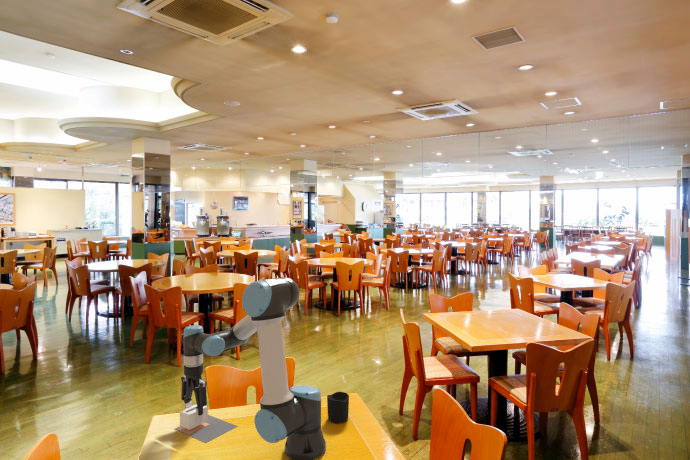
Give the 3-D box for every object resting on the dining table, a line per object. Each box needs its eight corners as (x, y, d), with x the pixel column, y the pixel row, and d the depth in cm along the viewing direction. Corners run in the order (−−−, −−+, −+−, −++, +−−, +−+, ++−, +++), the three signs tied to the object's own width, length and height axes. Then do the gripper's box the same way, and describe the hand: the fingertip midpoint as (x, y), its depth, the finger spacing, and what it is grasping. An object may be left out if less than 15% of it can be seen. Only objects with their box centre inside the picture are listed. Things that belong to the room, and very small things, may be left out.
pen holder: (349, 424, 176) (349, 400, 175) (326, 424, 176) (326, 400, 176) (348, 414, 185) (348, 391, 185) (327, 414, 185) (327, 391, 185)
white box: (189, 429, 167) (189, 414, 167) (180, 425, 170) (179, 410, 170) (207, 420, 174) (207, 406, 174) (198, 417, 178) (198, 402, 178)
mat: (238, 427, 173) (238, 425, 173) (205, 444, 160) (205, 442, 160) (206, 415, 184) (206, 413, 184) (174, 430, 171) (174, 428, 171)
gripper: (216, 365, 170) (216, 422, 170) (187, 357, 180) (187, 411, 181) (200, 371, 163) (201, 430, 164) (171, 362, 174) (171, 417, 174)
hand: (194, 420), depth 172 cm, fingers closed on white box, 6 cm apart
